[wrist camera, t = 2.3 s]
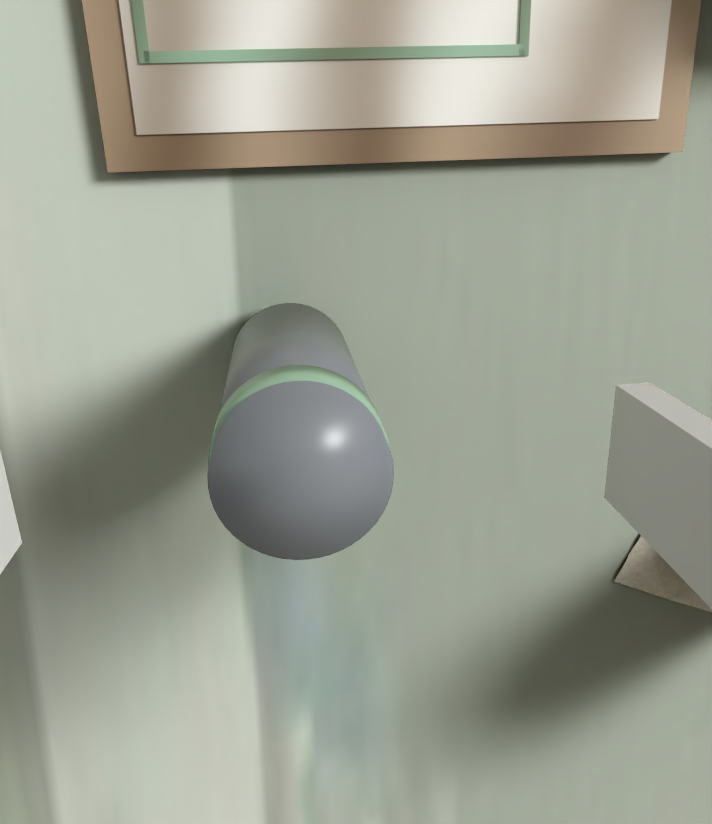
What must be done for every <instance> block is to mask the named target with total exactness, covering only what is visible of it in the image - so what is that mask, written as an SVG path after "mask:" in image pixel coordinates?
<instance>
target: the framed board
mask: <svg viewBox="0 0 712 824" xmlns="http://www.w3.org/2000/svg"><path fill="white" fill-rule="evenodd" d="M701 1H702V0H82V6H83V12H84V19H85V25H86V32H87V39H88V45H89V52H90V59H91V65H92V72H93V79H94V85H95V92H96V98H97V105H98V112H99V118H100V125H101V132H102V138H103V145H104V152H105V158H106V165H107V171H108V173H109V172H137V171H165V170H193V169H221V168H249V167H277V166H306V165H334V164H362V163H390V162H418V161H446V160H474V159H502V158H530V157H558V156H586V155H614V154H642V153H670V152H683V145H684V137H685V129H686V121H687V113H688V105H689V97H690V89H691V81H692V73H693V65H694V57H695V49H696V41H697V33H698V25H699V17H700V9H701Z"/></svg>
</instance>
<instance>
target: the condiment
mask: <svg viewBox="0 0 712 824" xmlns="http://www.w3.org/2000/svg"><path fill="white" fill-rule="evenodd" d="M614 582H617V583H620V584H623V585H626V586H628V587H631V588H634V589H638V590H642V591H645V592H647V593H650V594H652V595H655V596H660V597H663V598H666V599H669V600H671V601H674V602H679V603H682V604H684V605H688V606H691V607H695V608H699V609H702V610H705V611H708V612H711V613H712V609H711V608H710V607H709V606H708V605H707V604H706V603H705V602H704V601H703V600H702V599H701V598H700V597H699V596H698V594H697V593H696V592H695V591H694V590H693V589H692V588H691V587H690V586H689V585H688V584H687V583H686V582H685V581H684V580H683V579H682V578H681V577H680V576H679V575H678V574H677V573H676V572H675V570H674V569H673V568H672V567H671V566H670V565H669V564H668V563H667V562H666V561H665V560H664V559H663V558H662V557H661V556H660V555H659V554H658V553H657V552H656V551H655V550H654V549H653V548H652V547H651V545H650V544H649V543H648V542H647V541H646V540H645V539H644V538H643V537H642V536H641V537H640V538H639V540H638V542H637V543H636V545H635V546H634V547H633V549H632V550H631V552H630V553H629V555H628V558H627V560H626V562H625V564H624V565H623V567H622V569H621V571H620V572H619V574H618V575H617V577H616V579H615V580H614Z"/></svg>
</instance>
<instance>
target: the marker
mask: <svg viewBox="0 0 712 824" xmlns="http://www.w3.org/2000/svg"><path fill="white" fill-rule="evenodd" d="M393 476H394V469H393V460H392V456H391V451H390V447H389V443H388V438H387V435H386V433H385V430H384V428H383V425H382V423H381V420H380V418H379V416H378V413H377V411H376V409H375V407H374V406H373V404H372V402H371V401H370V399H369V397H368V395H367V393H366V390H365V388H364V385H363V383H362V381H361V378H360V376H359V373H358V371H357V369H356V366H355V364H354V361H353V359H352V356H351V354H350V352H349V349H348V347H347V344H346V342H345V340H344V337H343V335H342V333H341V331H340V330H339V328H338V327H337V326H336V324H335V323H334V322H333V321H332V320H331V319H330V318H329V317H328V316H326V315H325V314H324V313H322V312H320V311H319V310H317V309H315V308H312V307H310V306H306V305H303V304H296V303H284V304H278V305H274V306H270V307H268V308H265V309H263V310H261V311H260V312H258V313H256V314H255V315H254V316H252V317H251V318H250V319H249V320H248V321H247V322H246V323H245V325H244V326H243V327H242V328H241V330H240V332H239V333H238V335H237V338H236V340H235V343H234V347H233V351H232V356H231V361H230V365H229V370H228V375H227V380H226V384H225V389H224V394H223V399H222V404H221V408H220V413H219V415H218V418H217V420H216V423H215V427H214V431H213V435H212V440H211V444H210V449H209V457H208V489H209V494H210V499H211V501H212V504H213V507H214V509H215V511H216V513H217V515H218V517H219V519H220V520H221V522H222V523H223V524H224V526H225V527H226V528H227V529H228V530H229V531H230V532H231V533H232V535H233V536H235V537H236V538H237V539H238V540H240V541H241V542H242V543H244V544H245V545H247V546H249V547H250V548H252V549H254V550H256V551H258V552H261V553H263V554H266V555H269V556H273V557H277V558H282V559H292V560H303V559H313V558H320V557H323V556H327V555H331V554H333V553H336V552H338V551H341V550H343V549H345V548H346V547H348V546H350V545H352V544H353V543H355V542H356V541H358V540H359V539H361V538H362V537H363V536H364V535H365V534H366V533H367V532H368V531H369V530H370V529H371V528H372V527H373V526H374V525H375V524H376V522H377V521H378V519H379V518H380V517H381V515H382V514H383V512H384V510H385V508H386V506H387V504H388V501H389V498H390V495H391V491H392V486H393Z"/></svg>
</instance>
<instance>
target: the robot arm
mask: <svg viewBox="0 0 712 824" xmlns="http://www.w3.org/2000/svg"><path fill="white" fill-rule="evenodd" d="M604 498H605V499H606V500H607V501H608V502H609V503H610V504H611V505H612V506H613V507H614V508H615V509H616V510H617V511H618V512H619V513H620V514H621V515H622V516H623V517H624V518H625V519H626V520H627V521H628V523H629V524H630V525H631V526H632V527H633V528H634V529H635V530H636V531H637V532H638V533H639V534H640V535H641V536H642V537H643V538H644V539H645V540H646V541H647V542H648V543H649V544H650V545H651V547H652V548H653V549H654V550H655V551H656V552H657V553H658V554H659V555H660V556H661V557H662V558H663V559H664V560H665V561H666V562H667V563H668V564H669V565H670V566H671V567H672V568H673V569H674V570H675V572H676V573H677V574H678V575H679V576H680V577H681V578H682V579H683V580H684V581H685V582H686V583H687V584H688V585H689V586H690V587H691V588H692V589H693V590H694V591H695V592H696V593H697V594H698V596H699V597H700V598H701V599H702V600H703V601H704V602H705V603H706V604H707V605H708V606H709V607H710V608H711V609H712V420H711V419H709V418H708V417H706V416H704V415H703V414H701V413H699V412H698V411H696V410H694V409H693V408H691V407H689V406H688V405H686V404H684V403H683V402H681V401H679V400H678V399H676V398H674V397H673V396H671V395H669V394H668V393H666V392H664V391H663V390H661V389H659V388H658V387H656V386H654V385H653V384H651V383H637V384H621V385H616V390H615V400H614V409H613V419H612V428H611V438H610V447H609V457H608V466H607V476H606V485H605V495H604ZM21 544H22V540H21V536H20V532H19V528H18V523H17V519H16V515H15V511H14V506H13V502H12V498H11V493H10V489H9V485H8V481H7V476H6V472H5V468H4V464H3V459H2V455H1V451H0V574H1V573H2V571H3V570H4V568H5V567H6V565H7V564H8V562H9V561H10V560H11V558H12V557H13V555H14V554H15V552H16V551H17V549H18V548H19V547H20V545H21Z"/></svg>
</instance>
